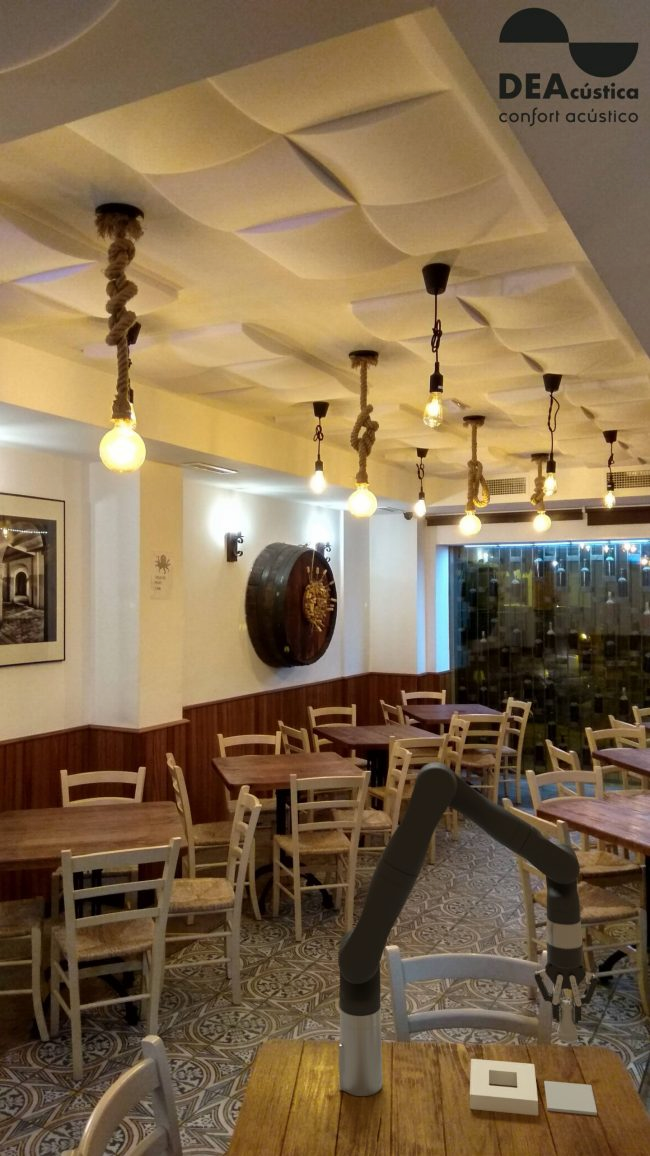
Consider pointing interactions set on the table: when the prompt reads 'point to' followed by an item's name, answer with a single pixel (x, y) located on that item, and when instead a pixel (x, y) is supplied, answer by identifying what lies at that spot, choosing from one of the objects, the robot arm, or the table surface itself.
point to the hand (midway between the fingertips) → (567, 1020)
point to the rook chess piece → (566, 1022)
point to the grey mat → (570, 1098)
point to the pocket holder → (503, 1097)
